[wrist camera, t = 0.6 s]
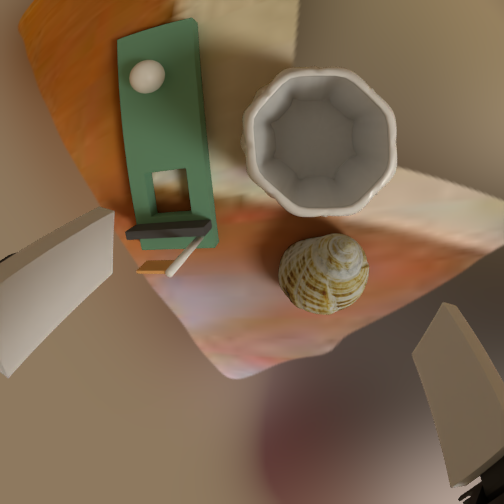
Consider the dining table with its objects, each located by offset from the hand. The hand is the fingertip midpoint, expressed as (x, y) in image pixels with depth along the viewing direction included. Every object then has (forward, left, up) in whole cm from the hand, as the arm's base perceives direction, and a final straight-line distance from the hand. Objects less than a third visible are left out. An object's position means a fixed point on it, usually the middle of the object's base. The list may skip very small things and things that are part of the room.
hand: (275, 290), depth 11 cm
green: (-7, -14, -26) cm, 30 cm away
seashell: (+10, +3, -26) cm, 28 cm away
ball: (-14, -14, -24) cm, 31 cm away
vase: (-5, +3, -26) cm, 26 cm away
